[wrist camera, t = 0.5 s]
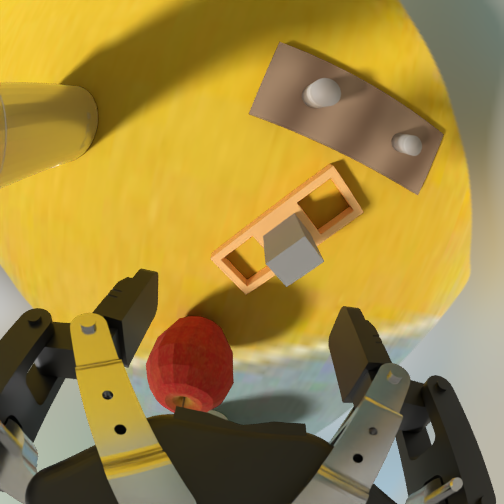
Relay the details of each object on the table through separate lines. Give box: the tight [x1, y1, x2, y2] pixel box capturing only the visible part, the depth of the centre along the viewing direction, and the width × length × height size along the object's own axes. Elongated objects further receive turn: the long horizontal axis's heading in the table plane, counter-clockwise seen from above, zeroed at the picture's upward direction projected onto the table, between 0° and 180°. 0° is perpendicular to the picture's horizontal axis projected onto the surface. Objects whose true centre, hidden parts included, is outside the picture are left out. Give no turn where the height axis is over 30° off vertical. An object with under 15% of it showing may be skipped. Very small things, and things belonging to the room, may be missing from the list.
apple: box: [146, 316, 234, 412], centre depth 30 cm, size 10×10×14 cm
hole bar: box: [210, 164, 363, 295], centre depth 27 cm, size 16×6×8 cm, turn 129°
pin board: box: [249, 42, 444, 195], centre depth 22 cm, size 20×8×6 cm, turn 69°
